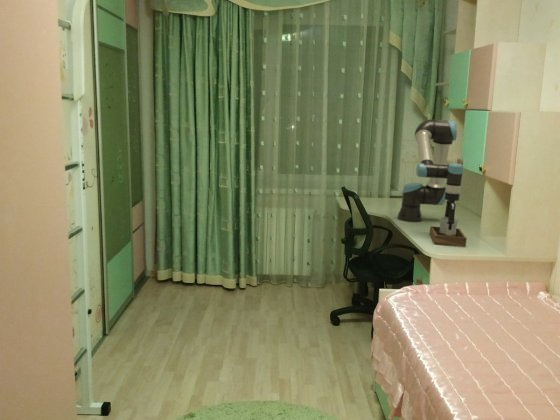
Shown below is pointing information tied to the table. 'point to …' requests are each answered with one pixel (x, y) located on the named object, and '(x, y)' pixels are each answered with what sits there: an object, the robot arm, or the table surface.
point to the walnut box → (447, 238)
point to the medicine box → (444, 225)
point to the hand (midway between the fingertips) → (447, 233)
